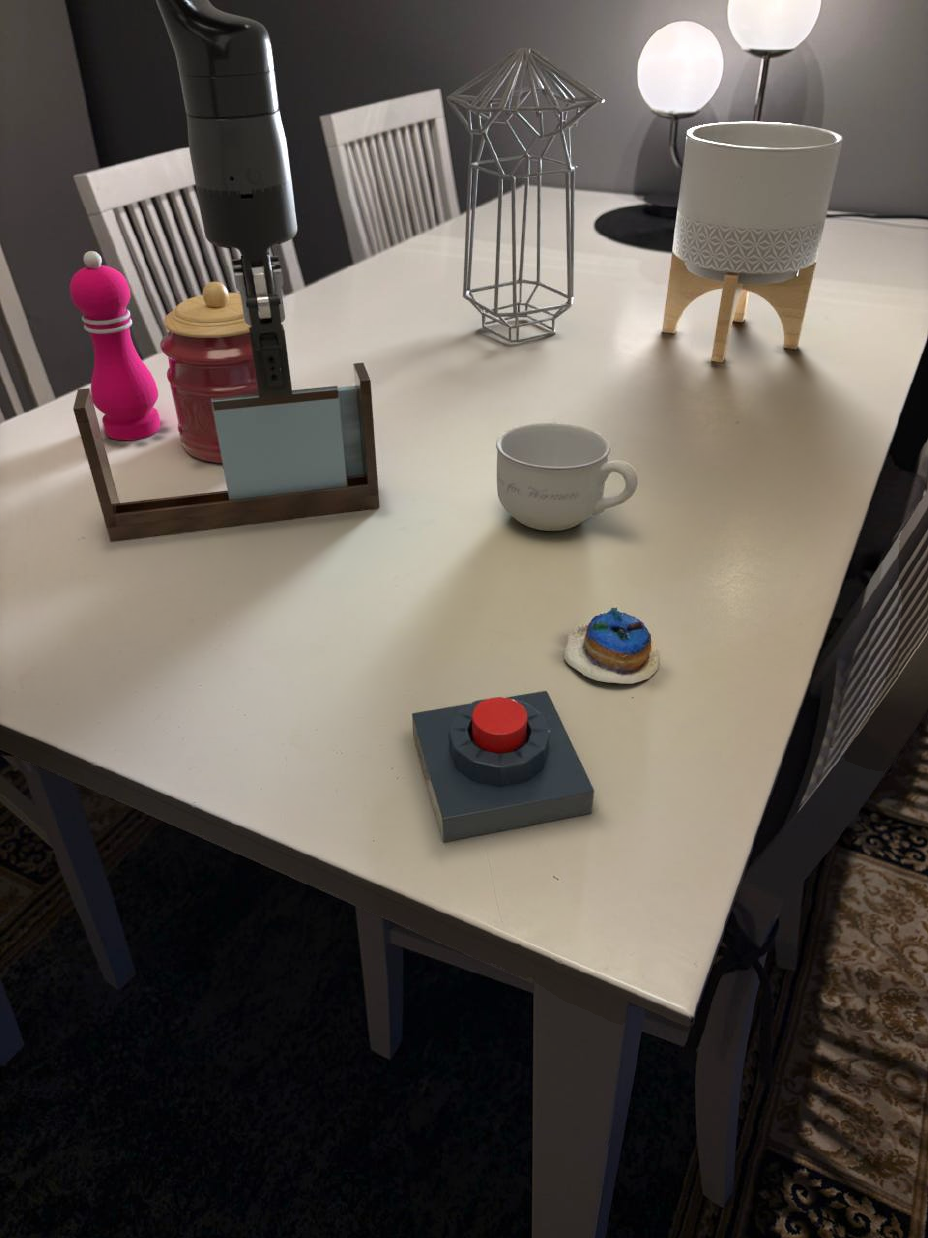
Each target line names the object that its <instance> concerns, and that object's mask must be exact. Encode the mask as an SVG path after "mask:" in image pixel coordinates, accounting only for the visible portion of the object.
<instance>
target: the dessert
mask: <svg viewBox="0 0 928 1238" xmlns="http://www.w3.org/2000/svg"><path fill="white" fill-rule="evenodd" d="M618 609H619V608H618V607H617V606H616V607H611V608H610V609H609V610H608V611H607V612H603V613H600V614H598V615H594V616H593V617H592V619H591V620H590V621H589V622H588V624H587V623H585V624H581V625H580V626H577V628H576V629H575V630H574V629H572V630H571V631H570V632H568V635H567V639H566V641H567V642H566V644H565V647H564V649H563V659H564V661H565V662H566V663H567V664H568V665H569V666H570V667H572V668H573V669H575V670H576V671H578V672H579V673H581V674H582V675H583V676H584V677H587V678H588V679H591V680H594V681H596V682H605V683H614V684H623V685H624V684H627V685H629V684H635V683H639V682H642V681H646V680H648V679H650V678H651V677H652V676H653V675H655V674H656V672H658V671H657V670H658V669H659V667H660V654H659V649H658V646H657V645H656V644H655V642H654V641H653V640H652V634H651V633H650V631H649V629H648V628H647V627H646V625H645V623H644V622H643V621H642V620H640V618H638V617H636V616H634V615H630V614H628V613H626V612H621V611H619V610H618Z"/></svg>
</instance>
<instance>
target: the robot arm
mask: <svg viewBox="0 0 928 1238" xmlns="http://www.w3.org/2000/svg"><path fill="white" fill-rule="evenodd" d="M155 1H156V5H157V8H158V10H159V12H160V15H161V17H162V20H163V23H164V26H165V28H166V31H167V34H168V36H169V39H170V42H171V43H170V44H171V46H172V48H173V51H174V56H175V59H176V64H177V65H176V66H177V71H178V75H179V82H180V86H181V93H182V97H183V98H182V99H183V104H184V109H185V113H186V115H185V117H186V122H187V139H188V150H189V156H190V162H191V167H192V173H193V177H194V183H195V189H196V195H197V199H198V200H197V201H198V205H199V210H200V216H201V221H202V227H203V232H204V233H203V234H204V237H205V239H206V240H207V242H208V243H210V244H211V245H214V246H216V247H219V248H223V249H230V248H232V249H233V248H234V249H236V250H238V251H239V253H240V258H234V259H231V264H232V271H233V278H234V283H235V289H236V290H237V291H238V292H239V294H240V295H241V301H242V307H243V313H244V319H245V322H246V324H248V325H250V326H251V327H252V332H253V338H254V341H252V343H253V347H255V350H256V351H257V355H258V361H259V367H260V373H261V380H262V386H263V388H264V389H265V390H267V391H270V390H279V389H285V388H286V387H287V377H286V371H285V364H284V357H283V350H282V349H283V348H284V344H285V338H286V337H285V338H283V333H282V325H281V324H282V323H284V321H285V320H286V312H285V305H284V297H283V291H282V288H283V286H284V276H283V269H282V265H281V263H280V256H279V255H270V248H271V247H272V246H274V245H276V244H277V245H281V244H284V243H286V242H287V243H288V242H289V241H291V240H292V239H293V238H294V237H295V236H296V235H297V232H298V223H297V214H296V206H295V198H294V190H293V181H292V174H291V173H292V172H291V168H290V167H291V166H290V158H289V157H290V156H289V149H288V144H287V143H288V142H287V137H286V134H285V129H284V125H283V121H282V117H281V111H280V105H279V96H278V88H277V80H276V72H275V63H274V55H273V47H272V44H271V38H270V35H269V32H268V30H267V29H266V27H265V26H264V25H263V24H262V23H260V22H259V21H257V20H254V19H253V18H249V17H244V16H241V15H236V14H232V13H229V12H226V11H223V10H221V9H218V8H216V7H215V6H214V5H213V4H212V3H211V2H210V0H155ZM272 332H275V333H276V334H269V335H260V334H262V333H272Z"/></svg>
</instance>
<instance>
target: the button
mask: <svg viewBox="0 0 928 1238" xmlns="http://www.w3.org/2000/svg"><path fill="white" fill-rule="evenodd" d="M485 699H486V700H484V701H482V702H480V703H479V704H478V705H477V706H476V707H475V708H474V710H473V713H472V737H473V740H474V742H475V743H476V744H477V745H478V746H479V747H480V748H481V749H483V750H485V751H488V752H493V753H498V754H502V753H508V752H512V751H514V750H516V749H518V748H519V747H521V746H522V744H523V743H524V742H525V739H526V732H527V713H526V710H525V709H524V707H523V706H522V705H521V704H519V703H518V702H516V701H514V700H512V699H509V698H506V697H503V696H497V697H490V698H489V697H488V698H485Z"/></svg>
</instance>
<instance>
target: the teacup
mask: <svg viewBox="0 0 928 1238" xmlns="http://www.w3.org/2000/svg"><path fill="white" fill-rule="evenodd" d="M495 448H496V492H497V497H498V500H499V503H500V505H501V507H502V508H503V509H504V510H505V511H506V512H507V513H508V514H509V515H510V516H512V517H513V518H514V519H515V520H516V521H517V522H518V523H520V524H522V525H524V526H526V527H528V528H530V529H533V530H534V529H535V530H538V531H545V532H558V531H567V530H569V529H572V528H574V527H577V526H578V525H580V524H582V522H584V521H586V520H588V519H589V518H591V517H592V516H593V515H601V514H602V513H604V512H605V510H606V509H609V508H613V507H617V506H619V505H621V504H624V503H626V502H627V501H628V500H630V499H631V498H632V497H633V496H634V494H635V493H636V490H637V488H638V484H639V482H638V481H639V480H638V475H637V472H636V470H635V468H634V467H633V466H632V465H631V464H630V463H628V462H627V461H624V460H620V459H613V460H609V456H610V452H611V444H610V442H609V440H608V439H607V438H606V437H605V436H603V435H602V434H600V433H599V432H597V431H595V430H593V429H590V428H587V427H584V426H580V425H575V424H570V423H564V422H561V423H560V422H535V423H528V424H527V423H526V424H523V425H519V426H516V427H512V428H511V429H507V430H505V431H504V432H502V433H501V434H500V435H499V436H498V438H497V439H496V441H495ZM611 473H617V474H619V475H621V476H622V478H623V479H624V483H625V487H624V489H623V490H622V491H621V492H619V493H618V494H616V495H612V496H605V497H604V493H605V488H606V482H607V480H608V477H609V476H610V474H611Z"/></svg>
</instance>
